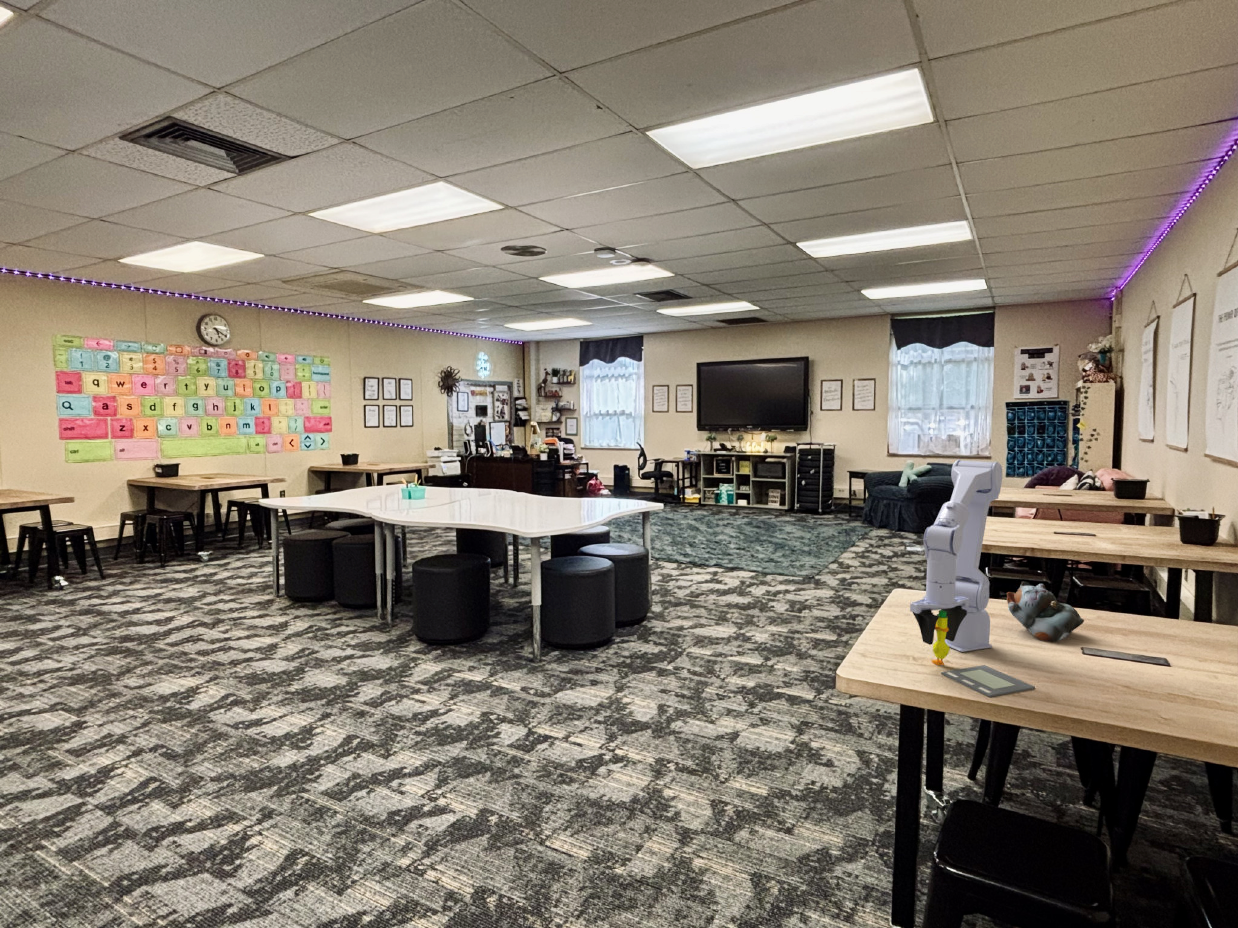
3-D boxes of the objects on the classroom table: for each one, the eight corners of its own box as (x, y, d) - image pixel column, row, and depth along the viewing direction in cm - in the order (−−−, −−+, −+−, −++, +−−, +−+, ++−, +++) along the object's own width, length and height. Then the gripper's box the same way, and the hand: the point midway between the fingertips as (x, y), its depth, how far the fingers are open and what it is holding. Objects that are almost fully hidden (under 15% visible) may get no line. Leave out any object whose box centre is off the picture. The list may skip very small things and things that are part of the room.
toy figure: (919, 658, 150) (921, 606, 149) (932, 656, 151) (934, 604, 150) (943, 669, 144) (945, 615, 143) (956, 667, 145) (958, 613, 144)
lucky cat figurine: (1054, 646, 157) (1023, 591, 160) (1014, 649, 168) (986, 597, 171) (1096, 621, 162) (1065, 568, 165) (1055, 625, 173) (1026, 576, 176)
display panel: (984, 666, 145) (984, 664, 145) (1035, 688, 134) (1035, 686, 134) (941, 673, 141) (941, 671, 141) (989, 697, 130) (989, 694, 130)
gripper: (952, 573, 152) (949, 631, 153) (900, 579, 147) (898, 639, 148) (978, 581, 145) (975, 642, 146) (925, 587, 140) (922, 650, 142)
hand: (938, 641), depth 147 cm, fingers open, 5 cm apart
